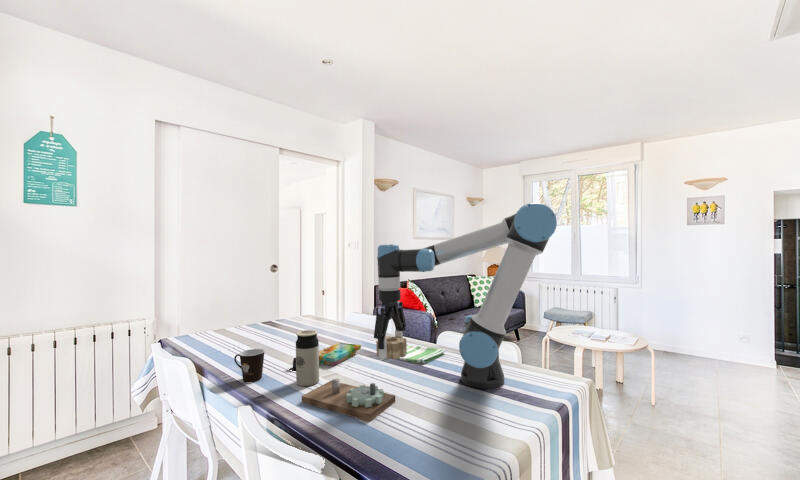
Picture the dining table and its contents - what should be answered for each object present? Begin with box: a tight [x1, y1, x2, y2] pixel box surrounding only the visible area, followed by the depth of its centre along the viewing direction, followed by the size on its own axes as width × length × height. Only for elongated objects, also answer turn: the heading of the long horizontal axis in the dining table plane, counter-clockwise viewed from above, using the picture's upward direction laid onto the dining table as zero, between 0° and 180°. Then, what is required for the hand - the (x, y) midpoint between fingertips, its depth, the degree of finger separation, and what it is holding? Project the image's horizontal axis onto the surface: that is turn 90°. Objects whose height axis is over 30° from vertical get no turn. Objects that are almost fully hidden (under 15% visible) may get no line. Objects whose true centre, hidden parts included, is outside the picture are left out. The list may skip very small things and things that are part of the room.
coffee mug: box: [233, 348, 265, 383], centre depth 134 cm, size 12×9×10 cm
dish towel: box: [397, 343, 446, 365], centre depth 159 cm, size 18×23×3 cm
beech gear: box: [375, 335, 407, 360], centre depth 123 cm, size 10×10×5 cm
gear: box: [346, 382, 385, 407], centre depth 109 cm, size 11×11×5 cm
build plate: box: [288, 357, 296, 371], centre depth 145 cm, size 12×7×5 cm, turn 145°
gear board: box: [301, 378, 396, 423], centre depth 112 cm, size 26×14×6 cm, turn 60°
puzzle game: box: [319, 342, 362, 367], centre depth 156 cm, size 12×5×20 cm
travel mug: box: [295, 329, 320, 387], centre depth 129 cm, size 8×8×18 cm
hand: (391, 353), depth 123 cm, fingers closed on beech gear, 10 cm apart
